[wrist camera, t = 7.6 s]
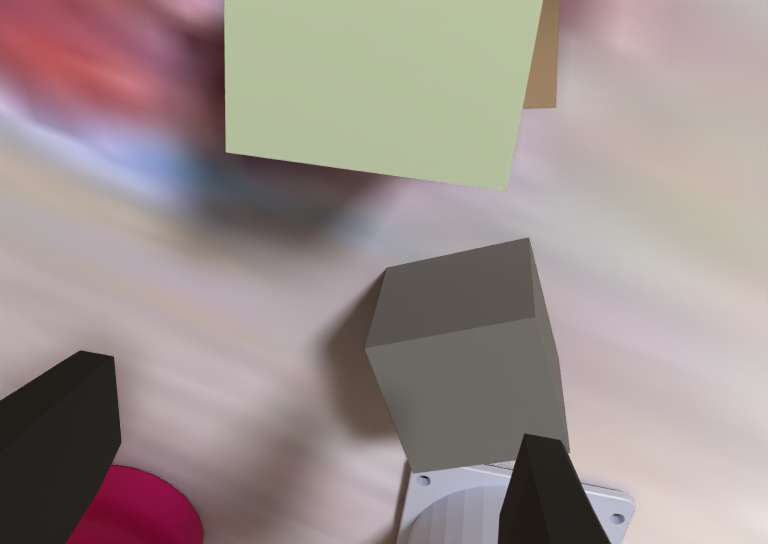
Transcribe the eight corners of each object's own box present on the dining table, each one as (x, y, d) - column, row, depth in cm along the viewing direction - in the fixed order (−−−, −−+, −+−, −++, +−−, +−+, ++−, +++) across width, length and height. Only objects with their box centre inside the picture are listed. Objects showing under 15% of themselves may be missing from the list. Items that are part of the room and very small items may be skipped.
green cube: (503, 112, 15) (506, 191, 11) (294, 85, 15) (225, 151, 12) (547, -132, 13) (569, -141, 9) (302, -157, 13) (222, -178, 9)
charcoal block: (558, 356, 24) (569, 452, 20) (426, 378, 25) (413, 474, 21) (528, 236, 22) (535, 317, 18) (387, 266, 23) (364, 348, 19)
